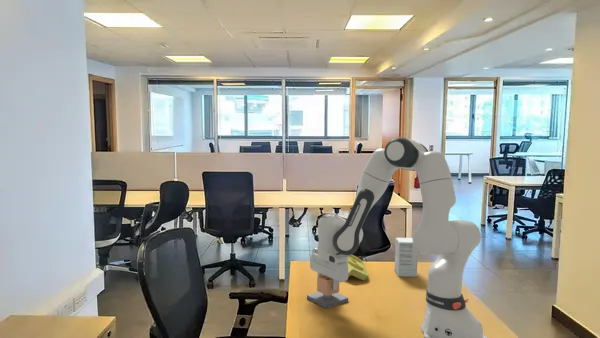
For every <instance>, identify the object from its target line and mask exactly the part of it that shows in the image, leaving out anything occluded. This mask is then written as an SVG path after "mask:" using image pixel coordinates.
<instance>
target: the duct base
mask: <svg viewBox="0 0 600 338" xmlns="http://www.w3.org/2000/svg"><path fill="white" fill-rule="evenodd" d="M306 299H308V300H309V301H311V302H313V303H314V304H317V306H320V307H322V308H324V309H329V308H332V307H335V306H336V307H337V306H338V305H341V304H344V303H348V302H349V297H347V296H345V295H343V294H341V293H340V292H338V293H334V294H331V295H328V296H327V295H325V294H323V293H321V292H319V291H316V292H312V293H310V294H307V295H306Z"/></svg>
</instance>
